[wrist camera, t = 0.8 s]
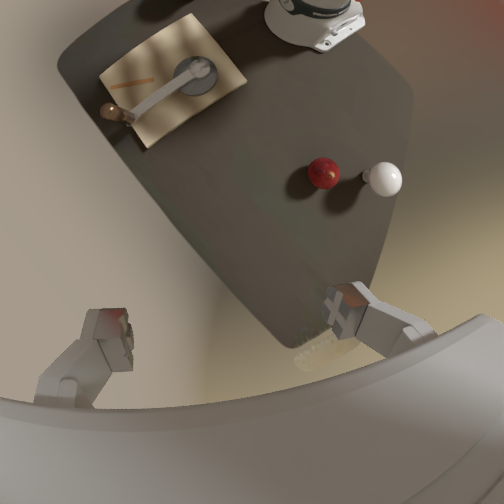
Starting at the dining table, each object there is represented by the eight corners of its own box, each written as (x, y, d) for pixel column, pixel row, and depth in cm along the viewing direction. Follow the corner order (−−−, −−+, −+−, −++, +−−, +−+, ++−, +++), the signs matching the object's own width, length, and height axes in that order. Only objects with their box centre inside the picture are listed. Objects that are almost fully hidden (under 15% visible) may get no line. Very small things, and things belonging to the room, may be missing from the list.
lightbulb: (380, 163, 51) (410, 166, 41) (377, 192, 53) (406, 201, 43) (354, 158, 51) (381, 159, 40) (351, 188, 53) (377, 196, 42)
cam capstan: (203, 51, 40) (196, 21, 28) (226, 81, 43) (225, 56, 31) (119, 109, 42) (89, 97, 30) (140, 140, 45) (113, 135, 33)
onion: (298, 179, 51) (310, 182, 44) (310, 152, 50) (323, 151, 42) (324, 191, 53) (339, 197, 45) (335, 165, 51) (352, 167, 43)
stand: (191, 16, 39) (191, 12, 37) (246, 83, 45) (247, 80, 43) (101, 78, 41) (98, 76, 39) (149, 148, 47) (146, 148, 46)
